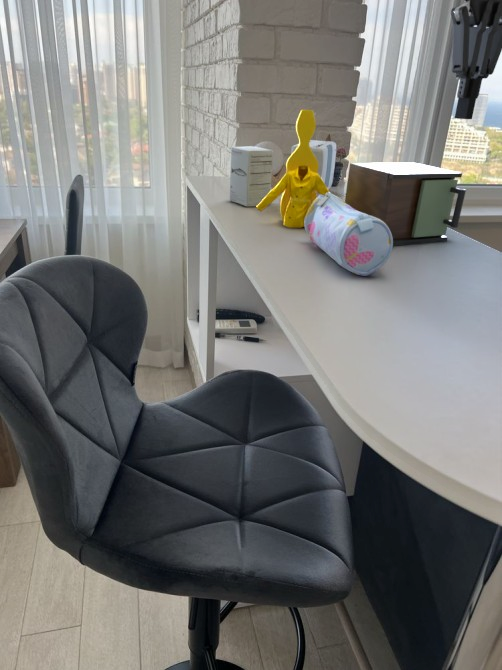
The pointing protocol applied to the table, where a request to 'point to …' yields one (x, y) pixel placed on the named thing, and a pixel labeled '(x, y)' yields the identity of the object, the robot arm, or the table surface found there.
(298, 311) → the table surface
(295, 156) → the figure statuette
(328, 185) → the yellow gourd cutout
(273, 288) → the table surface
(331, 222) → the pencil case
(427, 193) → the sliding door
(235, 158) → the white packaging box
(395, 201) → the cabinet
